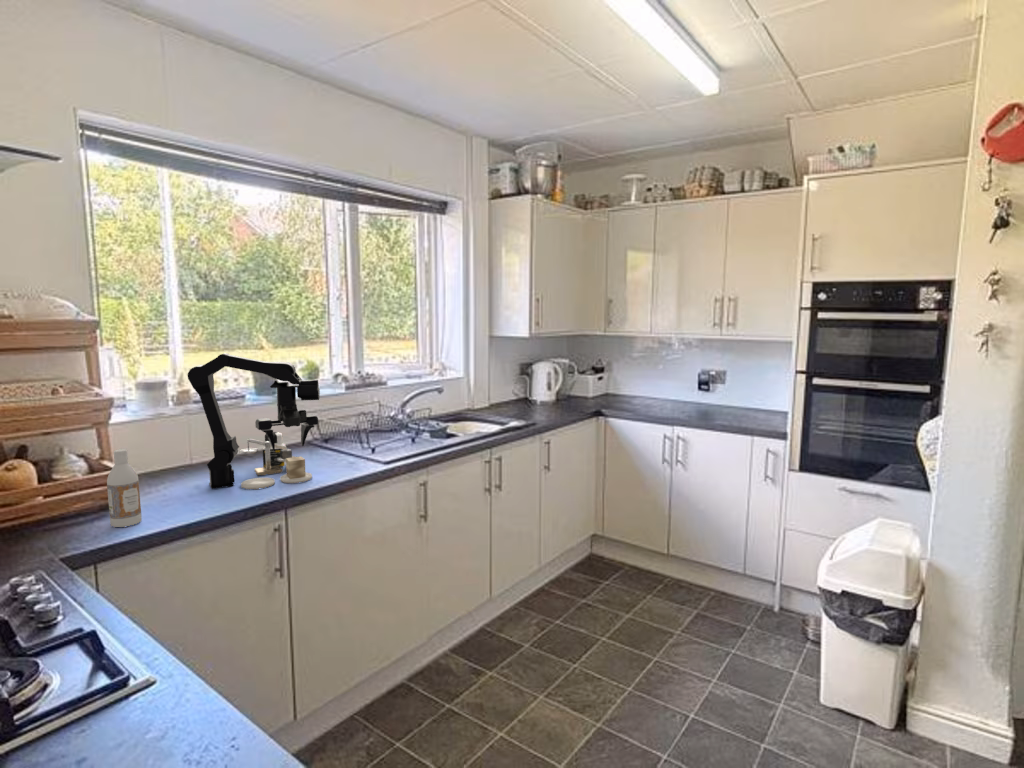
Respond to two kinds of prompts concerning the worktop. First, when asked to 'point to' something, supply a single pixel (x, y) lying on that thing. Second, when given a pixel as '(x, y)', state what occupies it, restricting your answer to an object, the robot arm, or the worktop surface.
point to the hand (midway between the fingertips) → (288, 447)
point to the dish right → (296, 480)
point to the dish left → (257, 483)
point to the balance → (268, 456)
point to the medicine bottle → (274, 450)
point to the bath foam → (123, 492)
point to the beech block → (295, 467)
